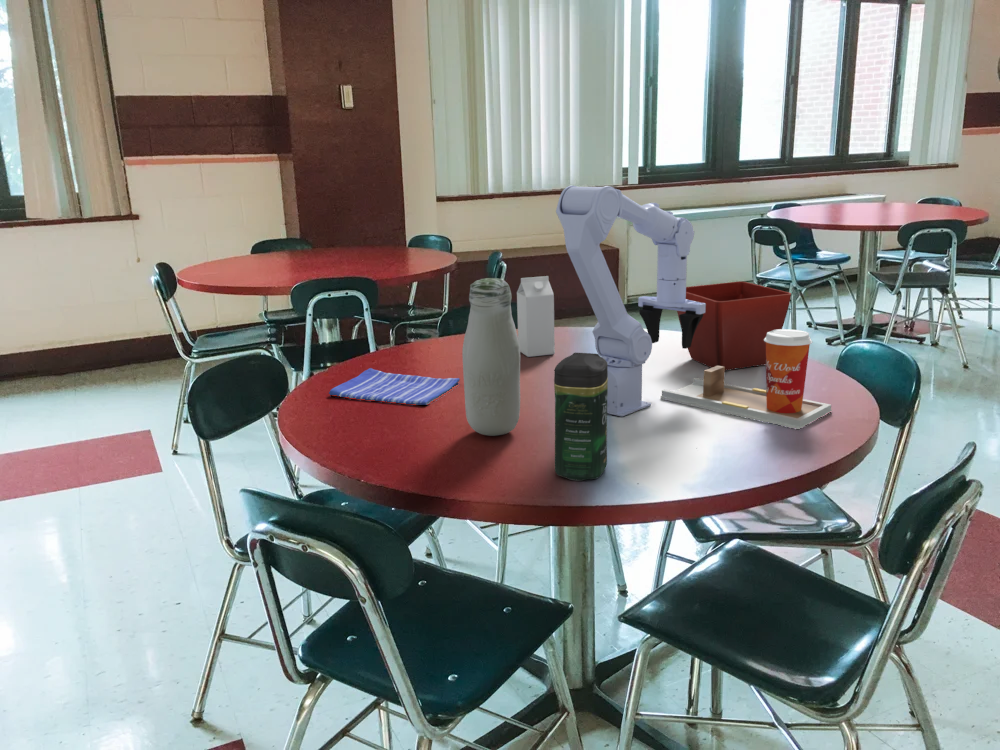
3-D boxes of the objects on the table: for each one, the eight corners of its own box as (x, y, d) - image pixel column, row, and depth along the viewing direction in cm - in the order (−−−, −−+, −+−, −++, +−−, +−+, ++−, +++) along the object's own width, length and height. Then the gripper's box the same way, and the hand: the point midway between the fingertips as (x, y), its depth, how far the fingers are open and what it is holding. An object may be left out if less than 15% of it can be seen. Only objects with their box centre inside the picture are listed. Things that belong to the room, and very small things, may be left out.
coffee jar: (601, 484, 122) (601, 365, 117) (550, 480, 124) (548, 363, 119) (611, 461, 131) (612, 349, 126) (563, 457, 133) (562, 347, 128)
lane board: (798, 430, 142) (799, 419, 141) (660, 398, 162) (660, 389, 162) (831, 412, 151) (832, 402, 150) (696, 384, 171) (696, 375, 170)
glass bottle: (462, 442, 141) (454, 283, 134) (472, 423, 151) (465, 274, 144) (518, 443, 140) (513, 282, 132) (524, 424, 150) (520, 273, 142)
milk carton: (518, 351, 204) (516, 276, 199) (544, 348, 206) (543, 274, 201) (527, 357, 198) (525, 280, 192) (554, 354, 200) (553, 277, 194)
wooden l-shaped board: (795, 422, 144) (797, 392, 143) (693, 399, 159) (694, 372, 157) (819, 410, 150) (821, 381, 149) (719, 389, 165) (720, 362, 163)
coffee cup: (752, 413, 150) (755, 334, 146) (773, 403, 156) (777, 326, 152) (795, 422, 144) (800, 339, 141) (815, 411, 150) (821, 331, 146)
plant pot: (714, 377, 176) (717, 300, 171) (670, 357, 193) (671, 287, 189) (789, 367, 181) (794, 293, 177) (739, 349, 199) (742, 281, 194)
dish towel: (369, 378, 186) (368, 366, 185) (462, 386, 177) (461, 374, 176) (326, 399, 171) (325, 386, 170) (426, 409, 162) (425, 396, 161)
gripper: (714, 278, 159) (712, 346, 162) (652, 272, 169) (651, 336, 172) (695, 283, 154) (693, 353, 158) (632, 277, 164) (631, 342, 167)
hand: (670, 344), depth 165 cm, fingers open, 7 cm apart
